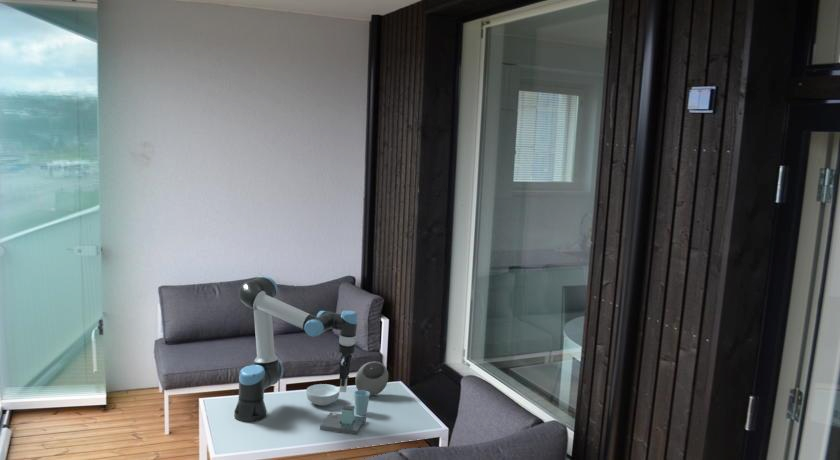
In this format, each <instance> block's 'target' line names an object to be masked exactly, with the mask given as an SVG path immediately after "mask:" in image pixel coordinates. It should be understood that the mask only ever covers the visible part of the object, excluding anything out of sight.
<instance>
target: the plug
mask: <svg viewBox="0 0 840 460" xmlns="http://www.w3.org/2000/svg"><path fill="white" fill-rule="evenodd" d="M341 414H342V418H341V424H348V425H353V424H354V416H355V405H348V404H347V405H346V404H344V405H343V406H342V407H341Z"/></svg>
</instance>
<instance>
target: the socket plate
mask: <svg viewBox="0 0 840 460" xmlns="http://www.w3.org/2000/svg"><path fill="white" fill-rule="evenodd" d="M341 418H342V413H338V412H329V414H328V415H327V416H326V417H325V419H324V420H323V421H322V422H321V424H320V425H319V430H320V431H327V432H334V433H341V434H350V435H355V436H357V435H358V434H359V432H361V429H362V428H363V426H364V425H365V423H366V422H367V417H366V416H360V415H354V424H353V425H348V424H341Z"/></svg>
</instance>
